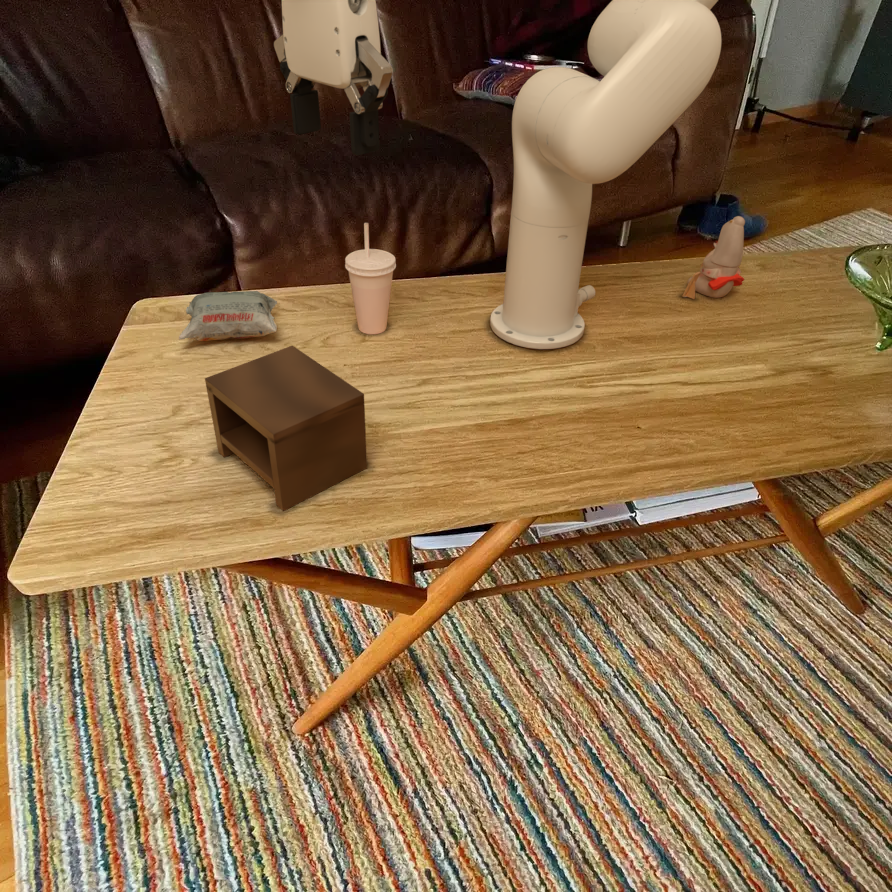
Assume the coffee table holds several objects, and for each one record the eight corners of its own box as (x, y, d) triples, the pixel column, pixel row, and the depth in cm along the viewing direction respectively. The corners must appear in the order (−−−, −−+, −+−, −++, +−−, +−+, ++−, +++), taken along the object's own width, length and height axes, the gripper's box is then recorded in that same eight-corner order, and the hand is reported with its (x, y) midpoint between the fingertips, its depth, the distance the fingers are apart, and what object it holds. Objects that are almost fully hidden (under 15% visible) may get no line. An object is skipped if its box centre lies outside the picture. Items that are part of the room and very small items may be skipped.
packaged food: (278, 347, 96) (274, 311, 93) (181, 352, 94) (173, 316, 91) (279, 316, 103) (275, 282, 100) (188, 320, 101) (181, 286, 98)
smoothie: (371, 311, 104) (368, 211, 96) (406, 326, 101) (406, 224, 93) (338, 328, 100) (331, 225, 92) (373, 344, 97) (370, 239, 89)
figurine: (708, 276, 117) (741, 203, 109) (741, 299, 113) (777, 225, 105) (668, 286, 113) (699, 211, 105) (701, 310, 109) (735, 234, 101)
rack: (299, 416, 84) (292, 345, 78) (367, 468, 77) (364, 393, 72) (218, 452, 78) (204, 378, 73) (283, 511, 71) (273, 434, 66)
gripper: (417, -49, 66) (418, 153, 77) (299, -62, 76) (314, 119, 86) (349, -44, 62) (361, 169, 72) (234, -59, 72) (258, 131, 82)
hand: (335, 141), depth 79 cm, fingers open, 9 cm apart
